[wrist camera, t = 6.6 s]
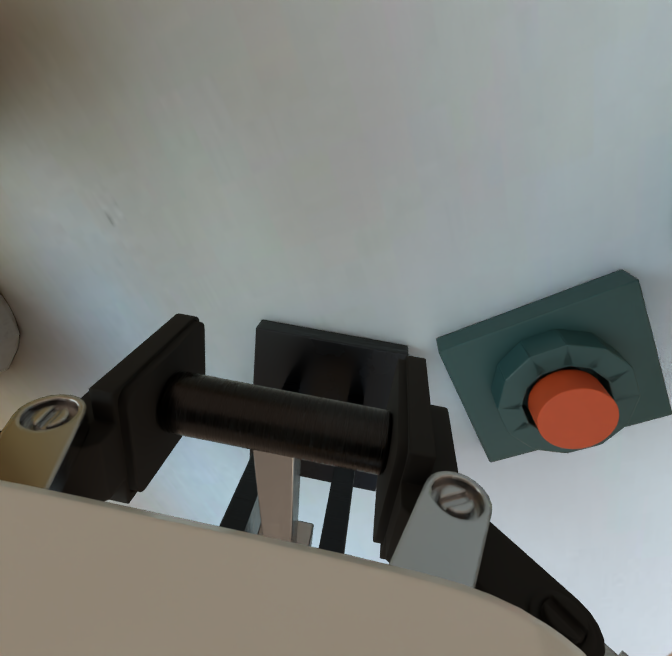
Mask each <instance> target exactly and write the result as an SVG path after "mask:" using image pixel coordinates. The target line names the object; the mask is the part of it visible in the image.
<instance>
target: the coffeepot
mask: <svg viewBox="0 0 672 656" xmlns="http://www.w3.org/2000/svg"><path fill="white" fill-rule="evenodd" d="M18 343H19V330H18V327H17V324H16V320H15V318H14V316H13V313H12V311H11V309H10V307H9V306H8V304H7V303H6V301H5V299H4V298H3V296H2V295H1V294H0V372H2V371H5V370H7V369H9V366H10V364H11V362H12V360H13V357H14V355H15V353H16V351H17V349H18Z"/></svg>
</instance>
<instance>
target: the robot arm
mask: <svg viewBox="0 0 672 656" xmlns="http://www.w3.org/2000/svg"><path fill="white" fill-rule="evenodd" d="M179 371H186V372H191V373H196V374H202V375H205V328H204V324H203V323H202V322H199V319H198V317H195V316H190V315H185V314H176V315H175V316H174V317H172V318H171V319H170V320H169V321H168V322H167V323H165V324H164V325H163V326H162V327H161V328H160V329H158V330H157V331H156V332H155V333H154V334H153V335H151V336H150V337H149V338H148V339H147V340H145V341H144V342H143V343H142V344H141V345H140V346H138V347H137V348H136V349H135V350H134V351H133V352H131V353H130V354H129V355H128V356H127V357H126V358H124V359H123V360H122V361H121V362H120V363H118V364H117V365H116V366H115V367H114V368H113V369H111V370H110V371H109V372H108V373H107V374H106V375H104V376H103V377H102V378H101V379H100V380H99V381H97V382H96V383H95V384H94V385H93V386H92V387H90V388H89V391H88V392H87V393H86V394H85V395H84V396H83V397H82V398H79V397H76V396H73V395H65V394H59V395H50V396H46V397H42V398H38V399H36V400H33V401H31V402H29V403H27V404H25V405H24V406H22V407H21V408H19V409H18V410H17V411H16V412H15V413H14V414H13V416H12V417H11V419H10V420H9V421H8V423H7V424H6V426H5V427H4V428H3V430H2V431H0V656H628V655H627V654H626V653H625V652H624V651H623V650H622V651H621V652H620V654H619V655H617V654H616V653H615V652H614V651H613V650H612V649H611V648H610V647H608V646H607V645H606V644H605V643H604V638H603V635H602V633H601V630H600V628H599V625H598V624H597V622H596V621H595V619H594V618H593V616H592V615H591V613H590V612H589V611H588V610H587V609H586V608H585V607H584V605H583V604H582V603H581V602H580V601H579V600H578V599H577V598H575V597H574V596H573V595H572V594H571V593H570V592H569V591H567V590H566V589H565V588H564V587H563V586H562V585H561V584H560V583H558V582H557V581H556V580H555V579H554V578H553V577H552V576H551V575H549V574H548V573H547V572H546V571H545V570H544V569H543V568H542V567H540V566H539V565H538V564H537V563H536V562H535V561H534V560H533V559H531V558H530V557H529V556H528V555H527V554H526V553H525V552H524V551H522V550H521V549H520V548H519V547H518V546H517V545H516V544H515V543H513V542H512V541H511V540H510V539H509V538H508V537H507V536H506V535H504V534H503V533H502V532H501V531H500V530H499V529H498V528H497V527H495V526H494V525H493V524H492V523H491V522H490V519H491V515H492V504H491V501H490V498H489V496H488V495H487V493H486V492H485V490H484V489H483V488H482V487H481V486H480V485H479V484H478V483H476V482H475V481H474V480H472V479H471V478H469V477H467V476H465V475H463V474H460V473H458V468H457V462H456V456H455V450H454V444H453V438H452V431H451V425H450V419H449V413H448V409H447V408H445V407H440V406H434V405H430V395H429V386H428V376H427V367H426V359H424V358H419V357H414V356H408V355H406V357H405V360H403V359H398V361H397V365H396V369H395V373H394V378H393V382H392V386H391V391H390V395H389V399H388V404H387V408H386V410H389V411H390V412H391V414H392V428H391V437H390V444H389V450H388V456H387V460H386V464H385V468H384V471H383V473H382V474H381V475H377V486H376V501H375V516H374V531H373V542H376V543H381V545H380V558H381V559H386V560H387V561H388V562H389V565H388V564H384V563H380V562H376V561H372V560H367V559H363V558H359V557H355V556H350V555H346V554H341V553H337V552H332V551H328V550H324V549H319V548H315V547H310V546H306V545H301V544H297V543H292V542H288V541H283V540H279V539H274V538H270V537H265V536H261V535H256V534H252V533H247V532H243V531H238V530H234V529H229V528H224V527H220V526H215V525H211V524H206V523H202V522H197V521H192V520H188V519H183V518H179V517H174V516H169V515H165V514H160V513H155V512H151V511H146V510H142V509H137V508H132V507H128V506H123V505H118V504H113V503H109V502H104V501H106V500H114V501H118V502H123V503H127V504H129V503H130V501H131V500H132V498H133V497H134V496H135V494H136V493H137V491H138V492H142V491H144V490H145V488H146V487H147V486H148V484H149V483H150V481H151V480H152V479H153V477H154V476H155V474H156V473H157V471H158V470H159V469H160V467H161V466H162V464H163V463H164V461H165V460H166V459H167V457H168V456H169V454H170V453H171V451H172V450H173V449H174V447H175V446H176V444H177V443H178V441H179V440H180V438H181V437H182V435H177V434H172V433H167V432H164V431H163V430H162V429H161V428H160V426H159V423H158V408H159V403H160V399H161V396H162V393H163V390H164V388H165V386H166V384H167V382H168V381H169V379H170V378H171V377H172V376H173V375H174V374H175V373H176V372H179Z"/></svg>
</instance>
